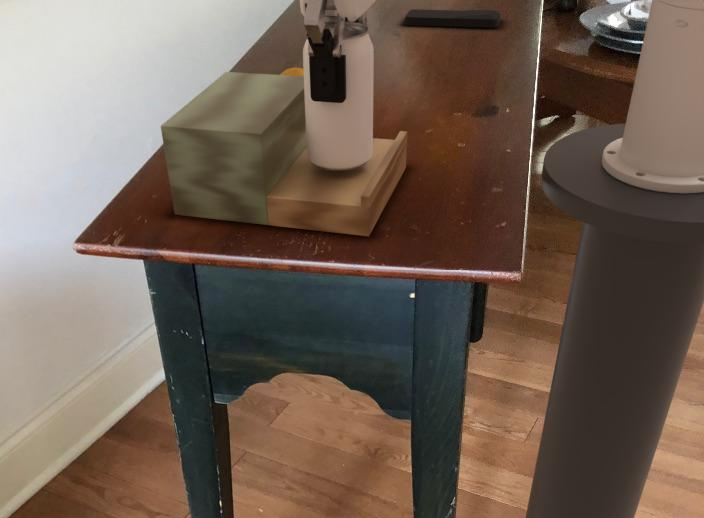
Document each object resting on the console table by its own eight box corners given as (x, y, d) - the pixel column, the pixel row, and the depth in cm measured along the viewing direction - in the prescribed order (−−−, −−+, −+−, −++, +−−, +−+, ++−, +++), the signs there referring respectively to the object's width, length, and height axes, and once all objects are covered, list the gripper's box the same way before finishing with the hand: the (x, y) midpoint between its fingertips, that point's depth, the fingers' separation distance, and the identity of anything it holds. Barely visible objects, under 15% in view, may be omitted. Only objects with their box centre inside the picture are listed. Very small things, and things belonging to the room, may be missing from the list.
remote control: (403, 28, 129) (497, 28, 125) (403, 17, 128) (498, 16, 124) (409, 20, 132) (501, 19, 128) (409, 9, 131) (501, 7, 127)
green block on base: (406, 167, 86) (409, 82, 80) (368, 236, 74) (369, 142, 68) (234, 152, 91) (225, 71, 85) (174, 215, 79) (160, 125, 74)
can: (293, 159, 79) (286, 31, 72) (340, 140, 82) (338, 16, 75) (339, 178, 75) (337, 44, 68) (386, 157, 79) (389, 27, 71)
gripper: (352, -129, 56) (354, 124, 67) (406, -156, 68) (399, 61, 80) (253, -128, 58) (270, 118, 69) (322, -154, 70) (327, 58, 82)
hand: (339, 86), depth 74 cm, fingers closed on can, 6 cm apart
